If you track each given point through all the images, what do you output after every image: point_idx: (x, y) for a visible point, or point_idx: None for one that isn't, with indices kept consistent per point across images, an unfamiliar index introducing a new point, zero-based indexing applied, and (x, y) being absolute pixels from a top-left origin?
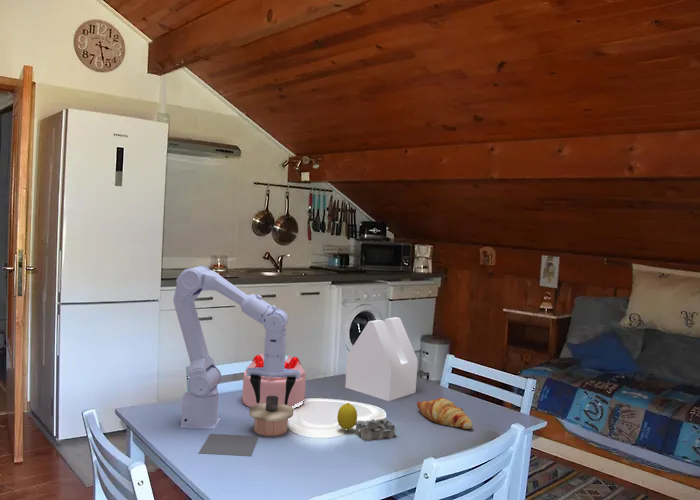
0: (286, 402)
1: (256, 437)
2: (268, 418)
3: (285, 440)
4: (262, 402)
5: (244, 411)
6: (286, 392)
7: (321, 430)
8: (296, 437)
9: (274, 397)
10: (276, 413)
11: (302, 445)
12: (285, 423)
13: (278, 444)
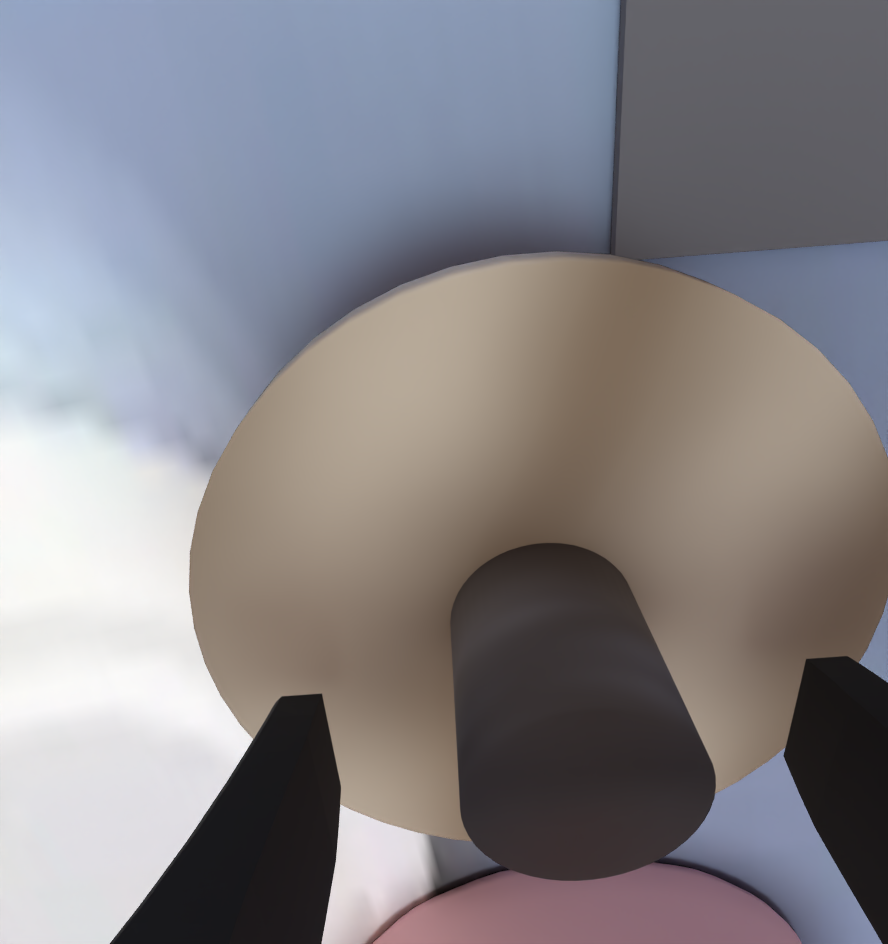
0: (273, 724)
1: (640, 209)
2: (543, 257)
3: (281, 244)
4: (664, 929)
5: (784, 821)
6: (205, 940)
7: (6, 596)
8: (185, 365)
9: (539, 810)
10: (436, 495)
11: (21, 118)
12: None
13: (331, 82)
